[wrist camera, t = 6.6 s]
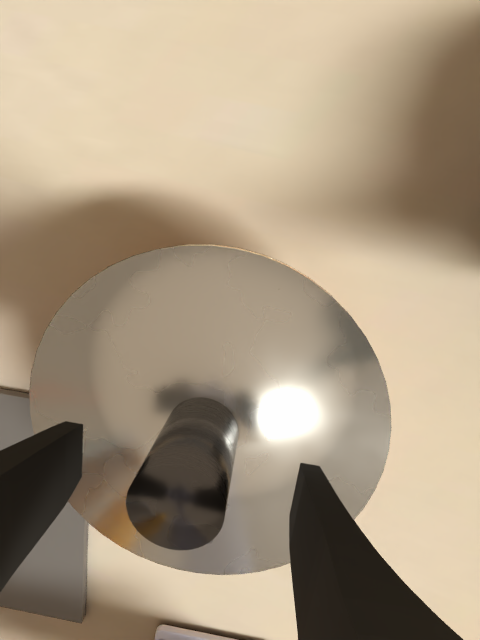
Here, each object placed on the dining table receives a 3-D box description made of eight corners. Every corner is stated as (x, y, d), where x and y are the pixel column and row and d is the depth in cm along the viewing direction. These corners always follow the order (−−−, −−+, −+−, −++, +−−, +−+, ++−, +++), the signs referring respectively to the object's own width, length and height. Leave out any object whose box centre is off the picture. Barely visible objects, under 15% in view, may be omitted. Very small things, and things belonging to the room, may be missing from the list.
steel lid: (332, 589, 16) (356, 734, 11) (36, 518, 17) (-56, 630, 12) (435, 287, 12) (531, 322, 8) (50, 209, 13) (-75, 200, 8)
